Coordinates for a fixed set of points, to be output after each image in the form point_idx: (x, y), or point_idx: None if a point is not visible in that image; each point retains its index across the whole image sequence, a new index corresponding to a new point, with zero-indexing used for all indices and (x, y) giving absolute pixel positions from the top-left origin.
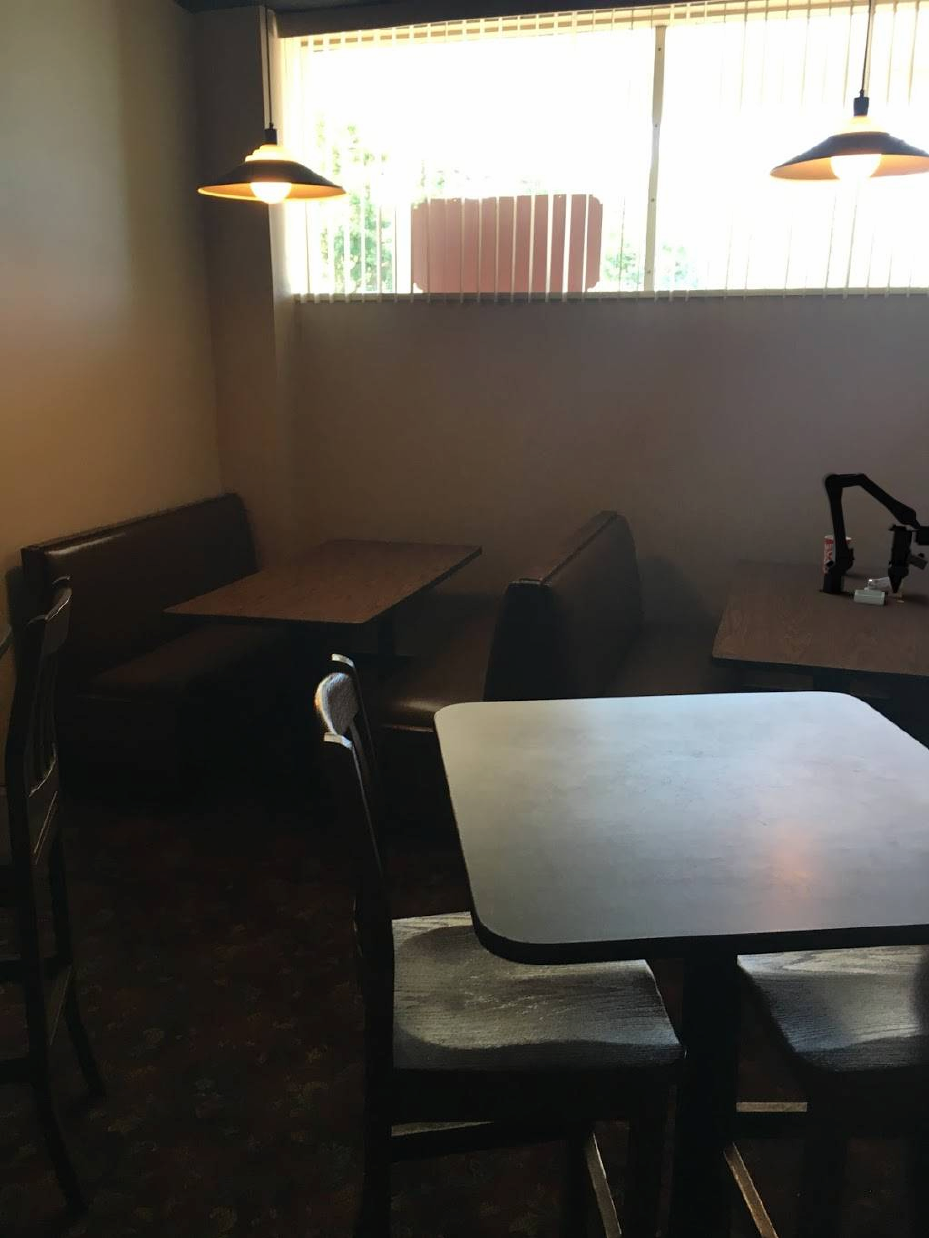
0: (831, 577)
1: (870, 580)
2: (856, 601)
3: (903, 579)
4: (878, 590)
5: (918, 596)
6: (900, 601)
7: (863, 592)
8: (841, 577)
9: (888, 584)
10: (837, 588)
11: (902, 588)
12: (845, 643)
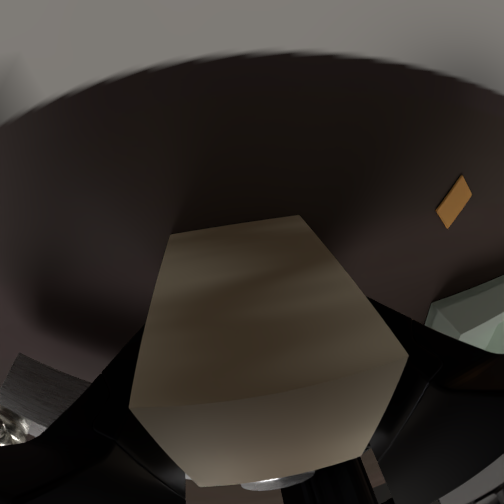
0: (375, 499)
1: (305, 478)
2: None
3: (404, 360)
4: None
5: (122, 74)
6: (461, 204)
7: None
8: (363, 500)
9: (81, 390)
10: (357, 462)
11: (335, 262)
12: None
